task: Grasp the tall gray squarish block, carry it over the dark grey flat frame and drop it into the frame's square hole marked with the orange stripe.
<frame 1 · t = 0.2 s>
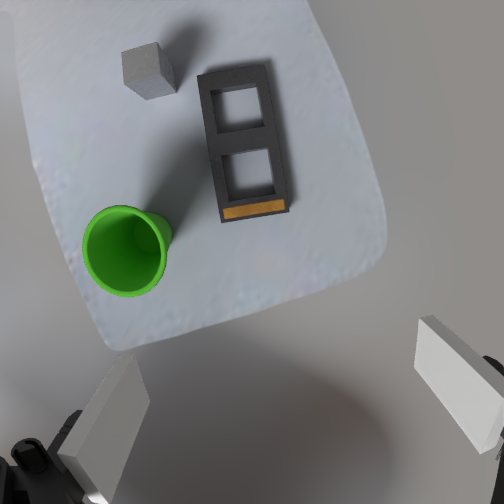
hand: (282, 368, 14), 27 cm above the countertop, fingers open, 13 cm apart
dark grey flat frame: (242, 142, 38), on the countertop
cup: (153, 233, 40), on the countertop
gray squarish block: (159, 82, 36), on the countertop
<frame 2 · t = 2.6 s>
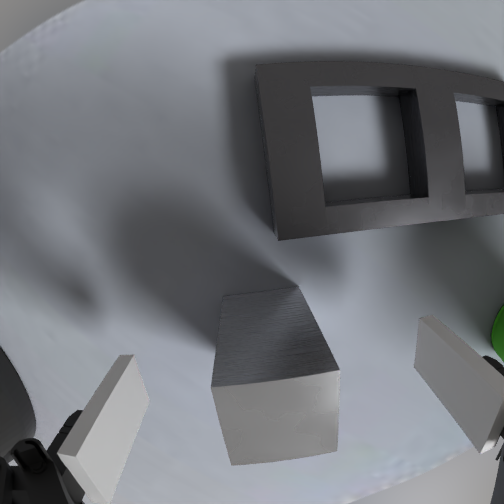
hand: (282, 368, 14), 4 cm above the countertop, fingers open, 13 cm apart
dark grey flat frame: (424, 144, 16), on the countertop
gray squarish block: (265, 325, 18), on the countertop
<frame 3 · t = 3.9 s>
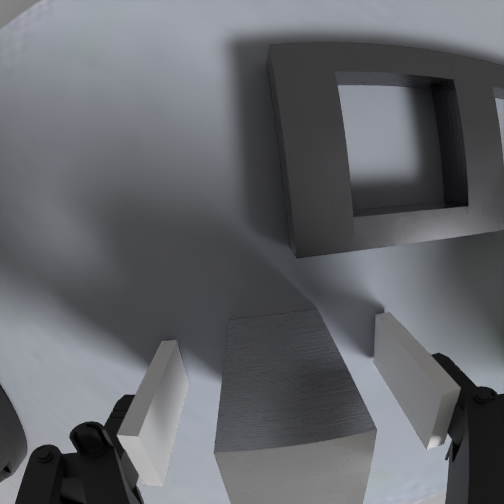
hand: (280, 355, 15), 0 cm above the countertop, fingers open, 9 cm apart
dark grey flat frame: (459, 144, 13), on the countertop
gray squarish block: (277, 352, 15), on the countertop
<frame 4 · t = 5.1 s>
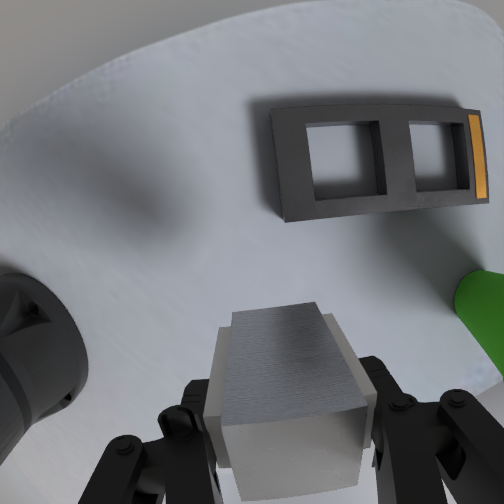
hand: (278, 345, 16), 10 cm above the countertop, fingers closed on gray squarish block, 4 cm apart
dark grey flat frame: (388, 158, 23), on the countertop
cup: (472, 294, 26), on the countertop
gray squarish block: (277, 343, 16), point 10 cm above the countertop, touching gripper
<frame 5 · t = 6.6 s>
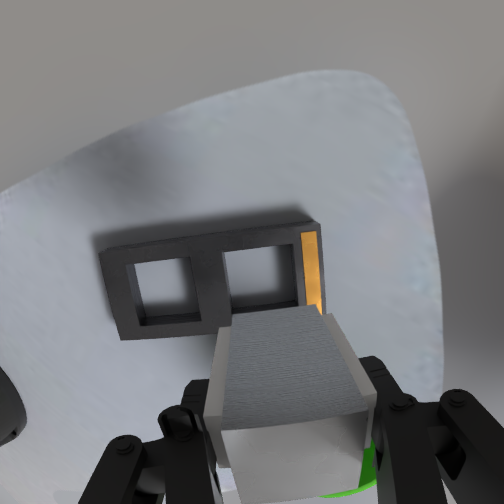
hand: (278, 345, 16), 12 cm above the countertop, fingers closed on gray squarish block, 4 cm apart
dark grey flat frame: (213, 280, 28), on the countertop
cup: (323, 387, 31), on the countertop
gray squarish block: (278, 345, 16), point 12 cm above the countertop, touching gripper
when the fingers open (3 cm above the countertop, at t = 8.4 s): gray squarish block drops 2 cm, resting in dark grey flat frame.
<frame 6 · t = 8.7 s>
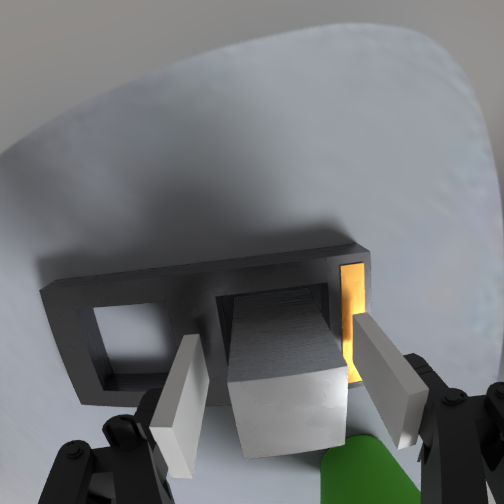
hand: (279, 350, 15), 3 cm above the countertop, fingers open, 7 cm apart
dark grey flat frame: (204, 330, 18), on the countertop
cup: (351, 453, 21), on the countertop
gray squarish block: (275, 325, 18), resting in dark grey flat frame
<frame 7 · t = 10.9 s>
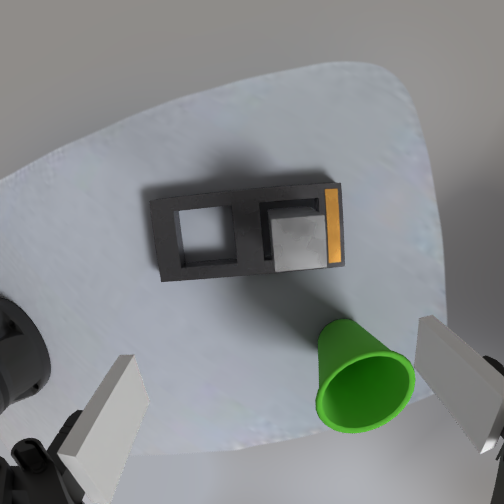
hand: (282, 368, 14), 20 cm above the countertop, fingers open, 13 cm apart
dark grey flat frame: (248, 229, 32), on the countertop
cup: (339, 337, 35), on the countertop
gray squarish block: (289, 227, 32), resting in dark grey flat frame
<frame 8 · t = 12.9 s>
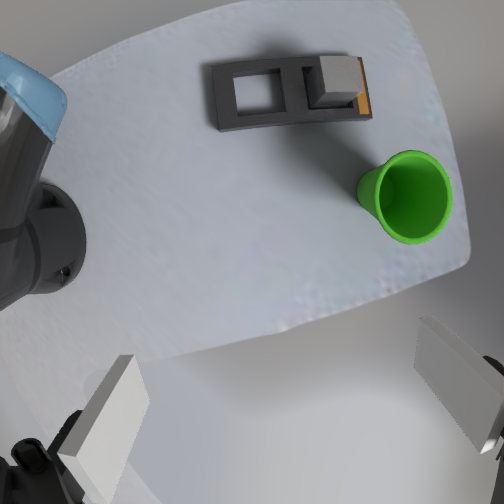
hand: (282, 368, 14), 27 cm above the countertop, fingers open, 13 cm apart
dark grey flat frame: (292, 92, 36), on the countertop
cup: (374, 191, 38), on the countertop
gray squarish block: (324, 92, 36), resting in dark grey flat frame
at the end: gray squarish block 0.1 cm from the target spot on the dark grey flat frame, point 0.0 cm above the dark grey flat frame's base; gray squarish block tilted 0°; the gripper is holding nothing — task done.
